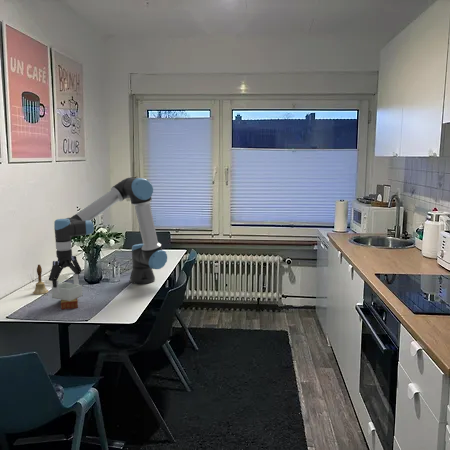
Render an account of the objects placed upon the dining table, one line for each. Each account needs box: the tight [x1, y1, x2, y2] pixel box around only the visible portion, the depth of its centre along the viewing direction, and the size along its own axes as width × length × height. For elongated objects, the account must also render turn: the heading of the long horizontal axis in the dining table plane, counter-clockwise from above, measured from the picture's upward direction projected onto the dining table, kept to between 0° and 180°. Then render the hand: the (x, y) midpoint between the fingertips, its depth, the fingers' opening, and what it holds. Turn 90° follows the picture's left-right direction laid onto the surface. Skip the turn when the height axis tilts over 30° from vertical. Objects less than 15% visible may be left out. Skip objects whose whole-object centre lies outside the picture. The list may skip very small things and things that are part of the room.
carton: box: [60, 298, 79, 310], centre depth 236 cm, size 8×16×4 cm, turn 19°
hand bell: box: [32, 264, 49, 295], centre depth 255 cm, size 8×8×16 cm
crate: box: [51, 281, 83, 301], centre depth 235 cm, size 9×12×6 cm
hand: (66, 289), depth 234 cm, fingers open, 13 cm apart
